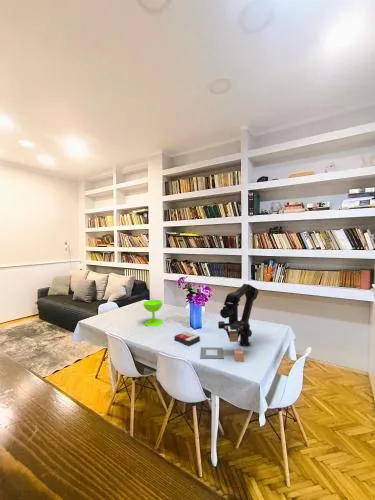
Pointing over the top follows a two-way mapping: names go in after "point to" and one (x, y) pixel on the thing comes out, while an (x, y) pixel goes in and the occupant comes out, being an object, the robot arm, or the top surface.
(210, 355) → the build plate
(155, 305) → the wineglass
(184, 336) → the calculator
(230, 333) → the base block
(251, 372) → the top surface
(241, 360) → the top block
